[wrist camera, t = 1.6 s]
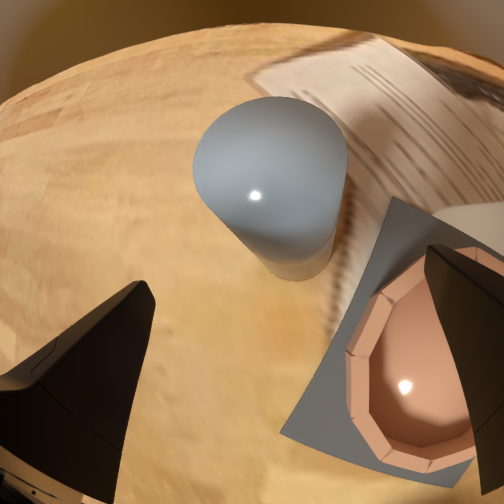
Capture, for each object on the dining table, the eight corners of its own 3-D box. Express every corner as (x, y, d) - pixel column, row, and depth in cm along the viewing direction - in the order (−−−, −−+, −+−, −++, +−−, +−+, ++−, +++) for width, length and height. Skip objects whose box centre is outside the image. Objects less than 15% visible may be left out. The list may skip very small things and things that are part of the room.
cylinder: (313, 294, 19) (309, 257, 8) (247, 262, 20) (166, 194, 9) (343, 227, 19) (367, 120, 8) (278, 200, 21) (237, 86, 10)
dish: (459, 467, 12) (474, 482, 9) (307, 416, 16) (305, 433, 13) (531, 301, 14) (553, 297, 11) (397, 227, 18) (409, 211, 15)
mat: (450, 486, 12) (452, 488, 12) (280, 431, 17) (279, 433, 16) (539, 283, 14) (542, 283, 14) (391, 199, 19) (392, 196, 18)
